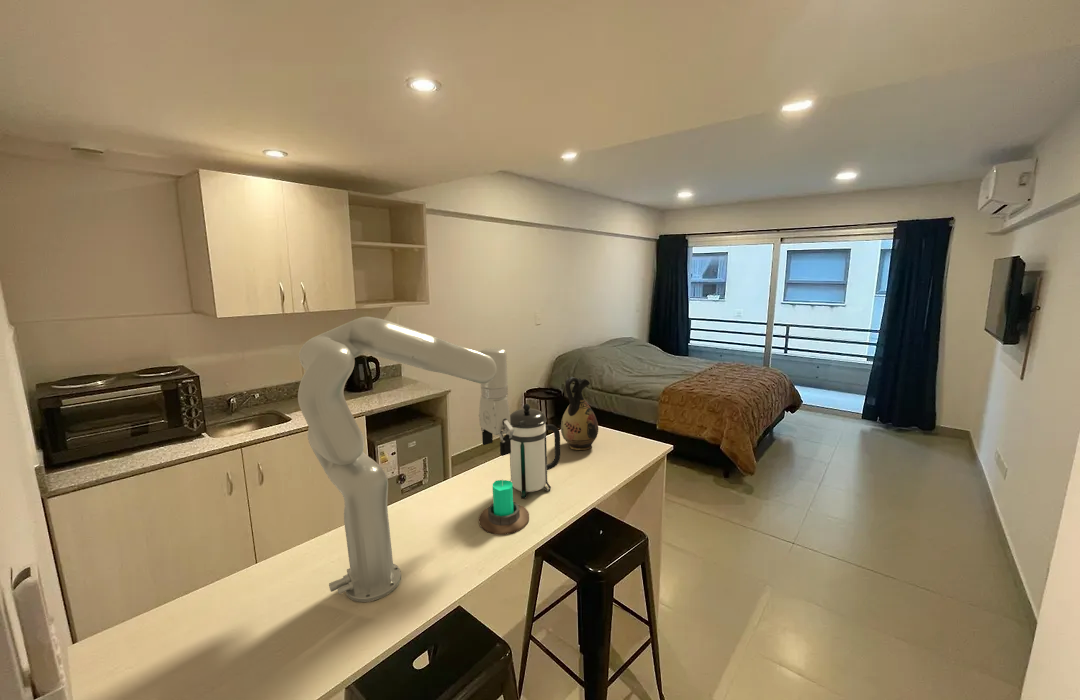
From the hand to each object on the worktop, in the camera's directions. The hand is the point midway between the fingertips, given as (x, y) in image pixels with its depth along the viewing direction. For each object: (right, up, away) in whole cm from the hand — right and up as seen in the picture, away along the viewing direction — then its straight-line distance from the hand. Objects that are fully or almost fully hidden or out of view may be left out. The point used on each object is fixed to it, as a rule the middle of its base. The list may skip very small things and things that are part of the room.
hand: (496, 448), depth 126 cm
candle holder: (+2, -22, +4) cm, 23 cm away
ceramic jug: (+28, -12, +55) cm, 63 cm away
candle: (+2, -21, +4) cm, 22 cm away
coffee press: (+10, -18, +23) cm, 31 cm away
